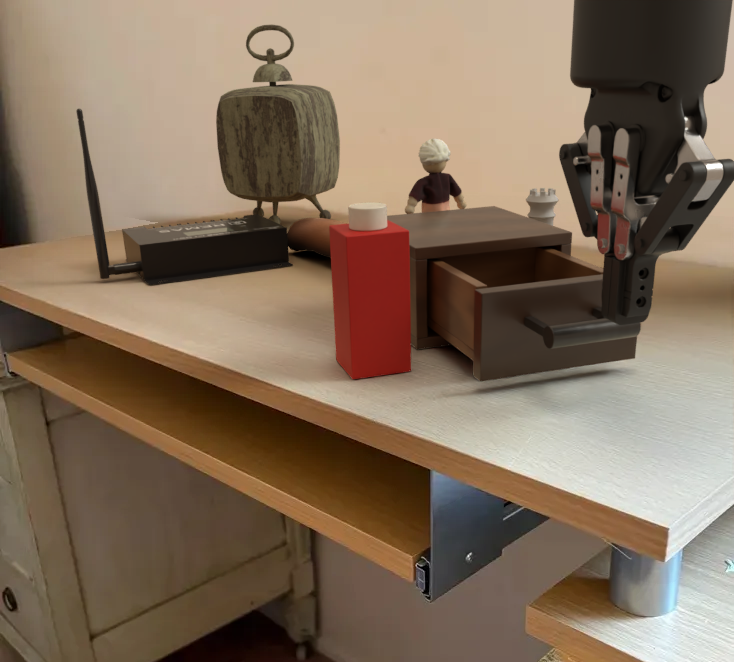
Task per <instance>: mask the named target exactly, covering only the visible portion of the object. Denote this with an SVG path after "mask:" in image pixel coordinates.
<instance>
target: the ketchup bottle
mask: <svg viewBox="0 0 734 662" xmlns="http://www.w3.org/2000/svg"><path fill="white" fill-rule="evenodd" d="M347 210H348V211H347V213H348V223H347V224H339V225H330V226H329V232H330V251H331V258H330V270H331V286H332V287H331V288H332V305H333V306H332V307H333V325H334V344H335V345H334V346H335V347H334V348H335V360H336V361H337V363H338V364H339V365H340V366H341V368H342V369H343V370H344V371H345V372H346V373H347V375H348V376H349V377H350V378H351V379H352V380H359V379H365V378H372V377H373V378H374V377H381V376H386V375H395V374H401V373H408V372H412V345H411V317H410V251H409V230H407V229H405V228H403V227H401V226H399V225H397V224H395V223H393V222H391V221H389V220H387V216H388V206H387V203H383V202H374V201H372V202H371V201H369V202H368V201H367V202H355V203H352V204H349V205H348V209H347Z"/></svg>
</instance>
